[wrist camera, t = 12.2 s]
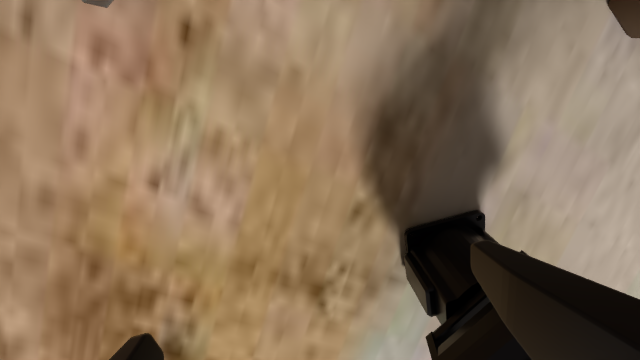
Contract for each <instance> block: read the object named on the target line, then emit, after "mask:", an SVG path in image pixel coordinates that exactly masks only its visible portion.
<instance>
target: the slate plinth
mask: <svg viewBox="0 0 640 360" xmlns="http://www.w3.org/2000/svg"><path fill="white" fill-rule="evenodd" d="M82 1H83V2H84V3H88V4H92V5H96V6H101V7H105V8H107V7H108V6H109V5H110V4H111V2H112V1H113V0H82Z"/></svg>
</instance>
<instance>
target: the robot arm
mask: <svg viewBox="0 0 640 360" xmlns="http://www.w3.org/2000/svg"><path fill="white" fill-rule="evenodd" d="M477 216H478V218H477ZM411 234H413V235H412V236H410V235H411ZM405 242H406V250H407V253H406V254H405V256H404V261H405V269H406V277H407V280H408V281H409V283H410V285H411V287H412V289H413V290H414V292H415V294H416V296H417V297H418V299H419V301H420V303H421V305H422V306H423V308H424V310H425V312H426V313H427V315H429V316H430V317H433V316H436V317H437V318H438V320H439V322H440V323H441V326H440V327H438V328H437V329H436V330H435V331H434V332H431V333H429V334H428V335H427V336H426V340H427V343H428V347H429V351H430V354H431V358H432V360H640V299H637V298H635V297H632V296H630V295H627V294H625V293H622V292H619V291H617V290H614V289H612V288H609V287H607V286H604V285H602V284H599V283H597V282H594V281H591V280H589V279H586V278H584V277H581V276H579V275H576V274H574V273H571V272H568V271H566V270H563V269H561V268H558V267H556V266H553V265H551V264H548V263H546V262H543V261H540V260H538V259H535V258H533V257H530V256H529V255H528V254H526V253H525V252H524V251H520V252H518V251H515V250H512V249H510V248H507V247H505V246H502V245H500V244H499V243H498V242H497V241H495V240H494V239H493V238H492V237H491V236H490V235H489V234H488V233H486V232H485V215H484V214H483V213H482V212H481V211H479V210H476V211H472V212H469V213H465V214H461V215H457V216H454V217H450V218H446V219H443V220H439V221H435V222H432V223H428V224H424V225H421V226H417V227H413V228H410V229H408V230H407V231H406V232H405ZM109 360H164V354H163V351H162V350H161V348H160V347H159V345H158V344H157V342H156V341H155V340H154V338H153V337H152V336H151V334H149V333H144V334H140V335H137V336H133V337H131V338H130V339H129V340H128V341H127V342H126V343H125V344H124V345H123V346H122V347H121V348H120V349H119V350H118V351H117V352H116V353H115V354H114V355H113V356H112V357H111V358H110V359H109Z"/></svg>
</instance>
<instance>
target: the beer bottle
mask: <svg viewBox="0 0 640 360" xmlns="http://www.w3.org/2000/svg"><path fill="white" fill-rule="evenodd" d="M608 6H609V8H610V9H611V11H612V13H613V14H614V16H615V17H616V19H617V20H618V22H619V23H620V25H621V26H622V28H623V30H624V31H625V33H626V34H627V35H628V36H629V37H631V38H640V0H609V3H608Z"/></svg>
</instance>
